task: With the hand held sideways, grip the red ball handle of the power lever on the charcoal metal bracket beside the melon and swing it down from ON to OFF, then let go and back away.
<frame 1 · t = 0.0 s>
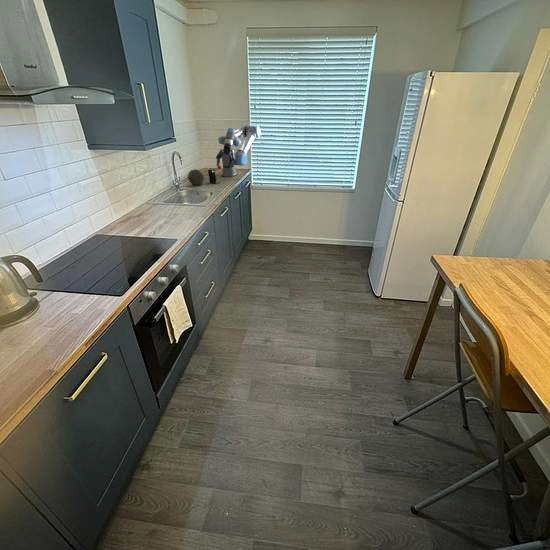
hand: (223, 166, 278), 15 cm above the worktop, tool tilted 35°, fingers open, 13 cm apart
switch bracket: (213, 183, 285), on the worktop
lever: (215, 169, 276), point 14 cm above the worktop, hinge at 24.0°
cantaloupe: (197, 186, 279), on the worktop
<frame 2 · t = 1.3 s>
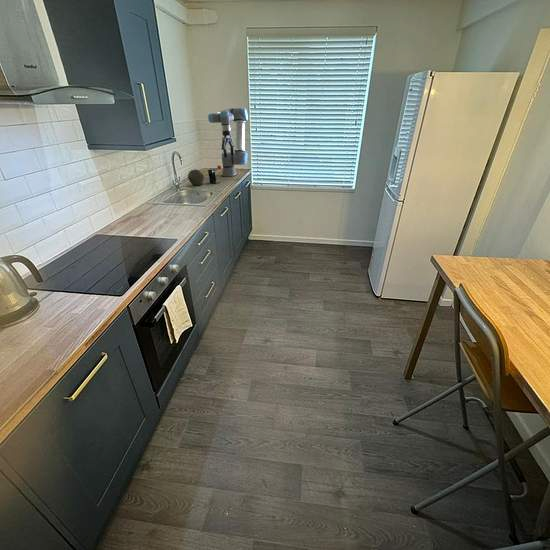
hand: (229, 156, 269), 25 cm above the worktop, tool pointing down, fingers open, 13 cm apart
nothing on the worktop moved.
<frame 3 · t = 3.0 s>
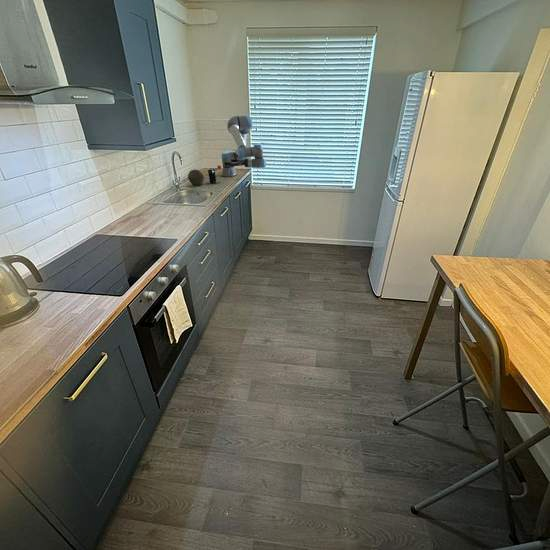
hand: (228, 162, 269), 20 cm above the worktop, tool horizontal, fingers open, 13 cm apart
nothing on the worktop moved.
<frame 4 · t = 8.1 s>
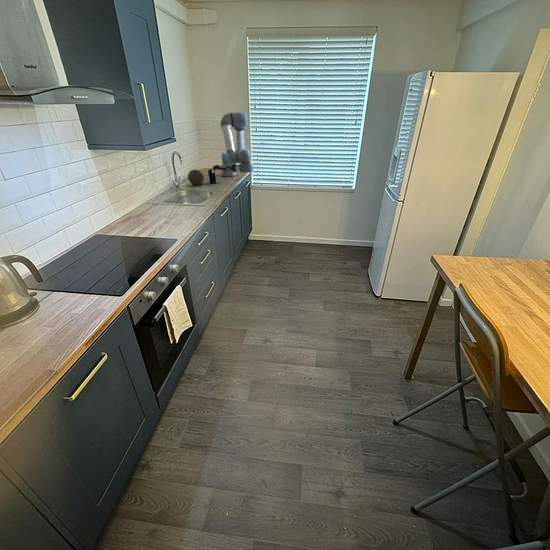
hand: (214, 167, 275), 16 cm above the worktop, tool horizontal, fingers closed on lever, 4 cm apart
lever: (215, 169, 276), point 14 cm above the worktop, hinge at 24.0°, touching gripper
everything else where it was.
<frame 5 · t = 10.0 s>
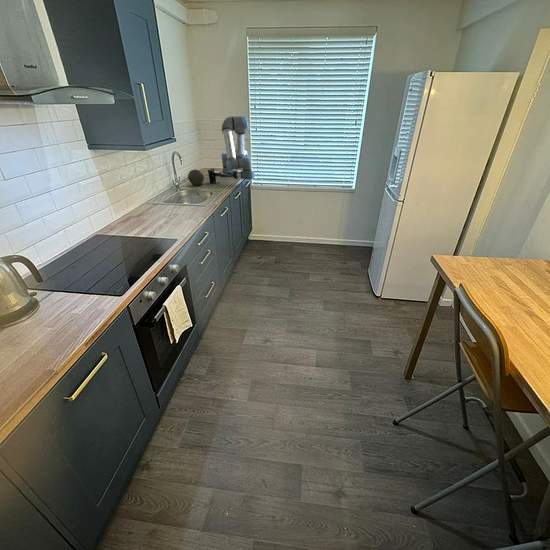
hand: (215, 173, 279), 9 cm above the worktop, tool horizontal, fingers closed on lever, 4 cm apart
lever: (216, 172, 278), point 11 cm above the worktop, hinge at -11.1°, touching gripper
everything else where it was.
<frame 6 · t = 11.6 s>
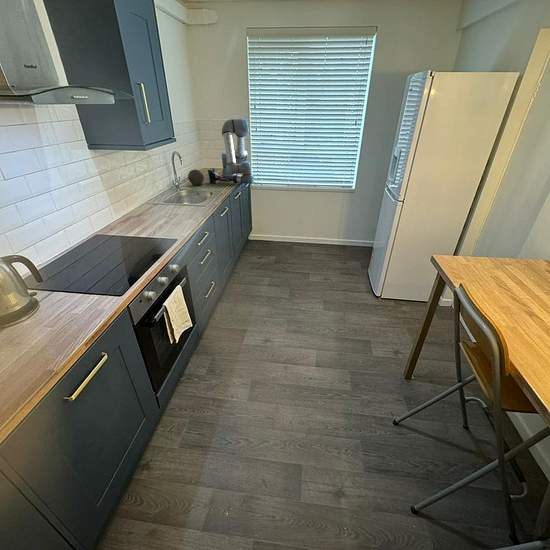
hand: (216, 178, 281), 5 cm above the worktop, tool horizontal, fingers open, 5 cm apart
lever: (216, 174, 279), point 9 cm above the worktop, hinge at -30.5°
everything else where it was.
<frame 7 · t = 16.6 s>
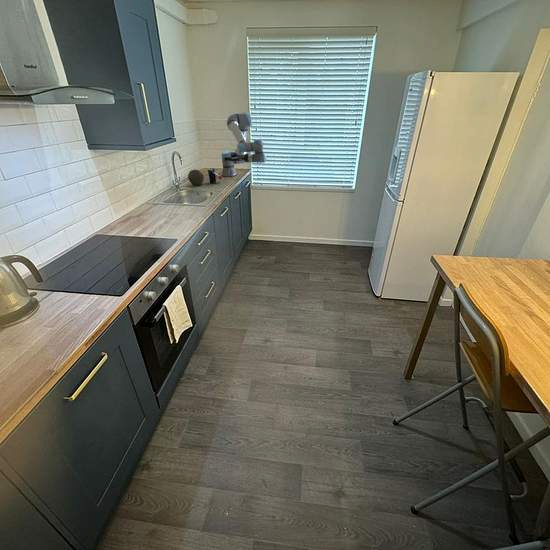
hand: (228, 157, 269), 24 cm above the worktop, tool horizontal, fingers open, 13 cm apart
nothing on the worktop moved.
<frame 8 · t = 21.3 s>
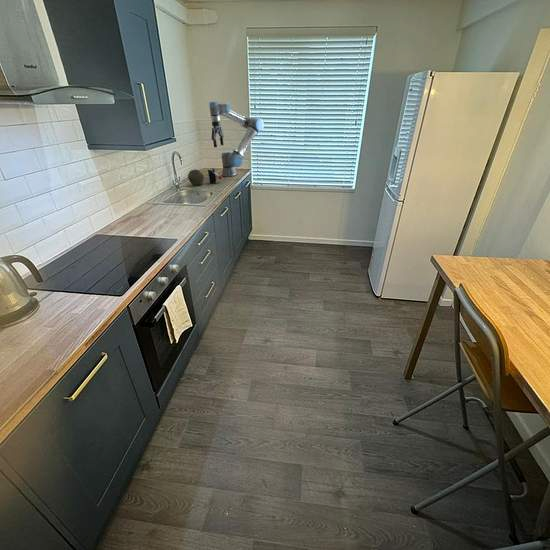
hand: (218, 146, 279), 32 cm above the worktop, tool pointing down, fingers open, 13 cm apart
nothing on the worktop moved.
at the end: lever at -30° (first picture: +24°); the gripper is holding nothing; cantaloupe moved 0.2 cm from its start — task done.
